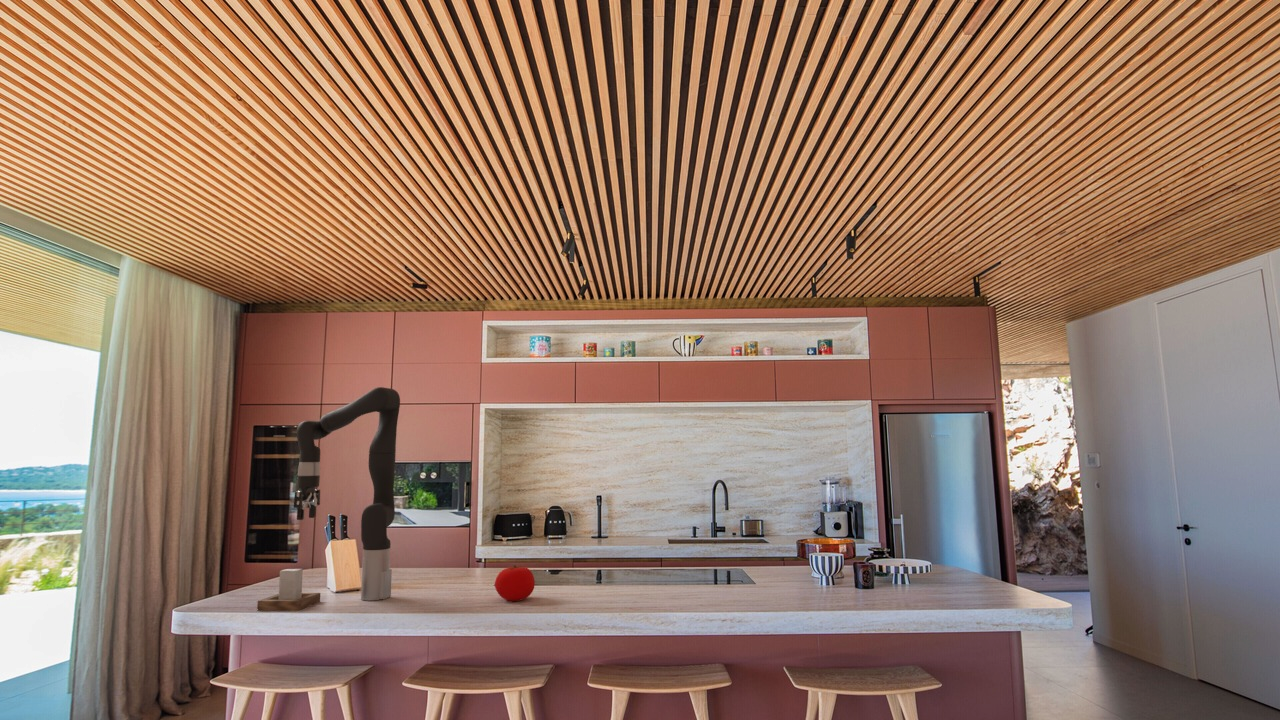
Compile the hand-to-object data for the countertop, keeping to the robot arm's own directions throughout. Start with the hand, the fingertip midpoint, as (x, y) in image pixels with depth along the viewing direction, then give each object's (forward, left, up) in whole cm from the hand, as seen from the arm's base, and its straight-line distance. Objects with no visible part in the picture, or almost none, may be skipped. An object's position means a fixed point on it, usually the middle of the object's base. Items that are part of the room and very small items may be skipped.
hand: (306, 518), depth 260 cm
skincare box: (-5, +17, -28) cm, 33 cm away
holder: (-5, +17, -28) cm, 33 cm away
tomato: (-80, +5, -28) cm, 85 cm away
